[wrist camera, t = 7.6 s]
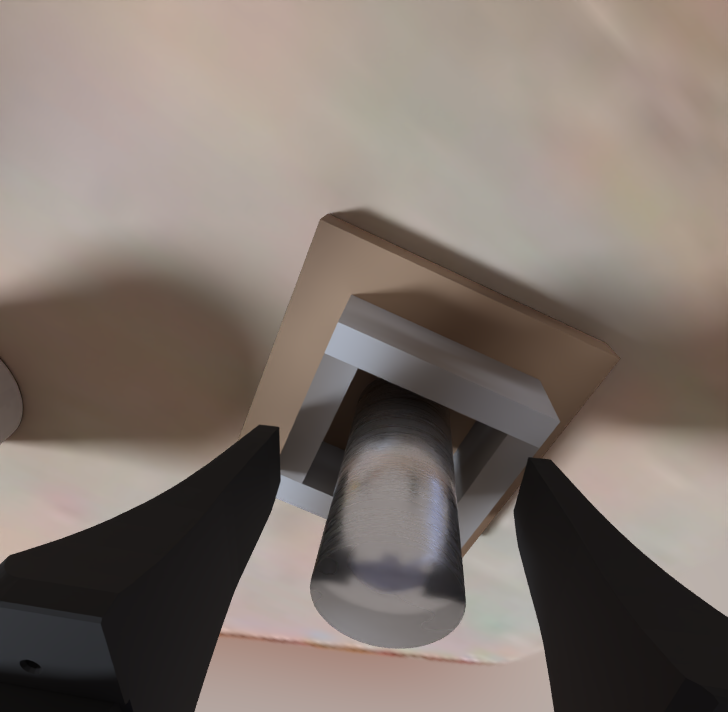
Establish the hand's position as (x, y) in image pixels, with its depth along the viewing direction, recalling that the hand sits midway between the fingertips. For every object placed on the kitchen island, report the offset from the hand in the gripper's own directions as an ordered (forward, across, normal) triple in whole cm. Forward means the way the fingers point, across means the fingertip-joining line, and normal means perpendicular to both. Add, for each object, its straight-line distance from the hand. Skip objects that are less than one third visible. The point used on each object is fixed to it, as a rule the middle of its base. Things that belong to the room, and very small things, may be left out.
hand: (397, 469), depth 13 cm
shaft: (+3, 0, 0) cm, 3 cm away
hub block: (+4, 0, 0) cm, 4 cm away
